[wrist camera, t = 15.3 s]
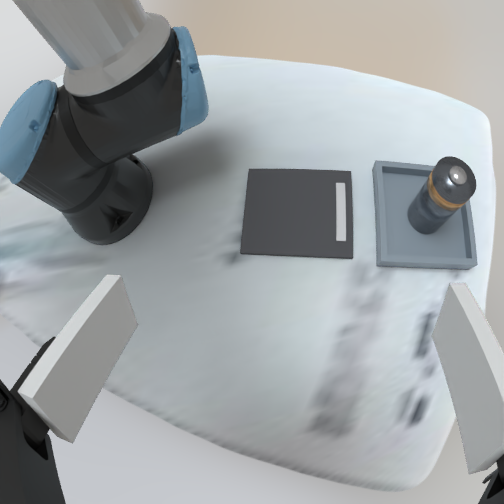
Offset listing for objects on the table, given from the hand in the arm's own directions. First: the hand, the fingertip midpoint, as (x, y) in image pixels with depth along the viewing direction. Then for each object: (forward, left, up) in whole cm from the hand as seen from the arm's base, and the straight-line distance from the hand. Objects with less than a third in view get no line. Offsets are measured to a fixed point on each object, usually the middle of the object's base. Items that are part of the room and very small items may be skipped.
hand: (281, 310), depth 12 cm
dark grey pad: (-1, +15, -27) cm, 31 cm away
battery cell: (+16, +15, -26) cm, 34 cm away
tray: (+16, +15, -27) cm, 35 cm away
